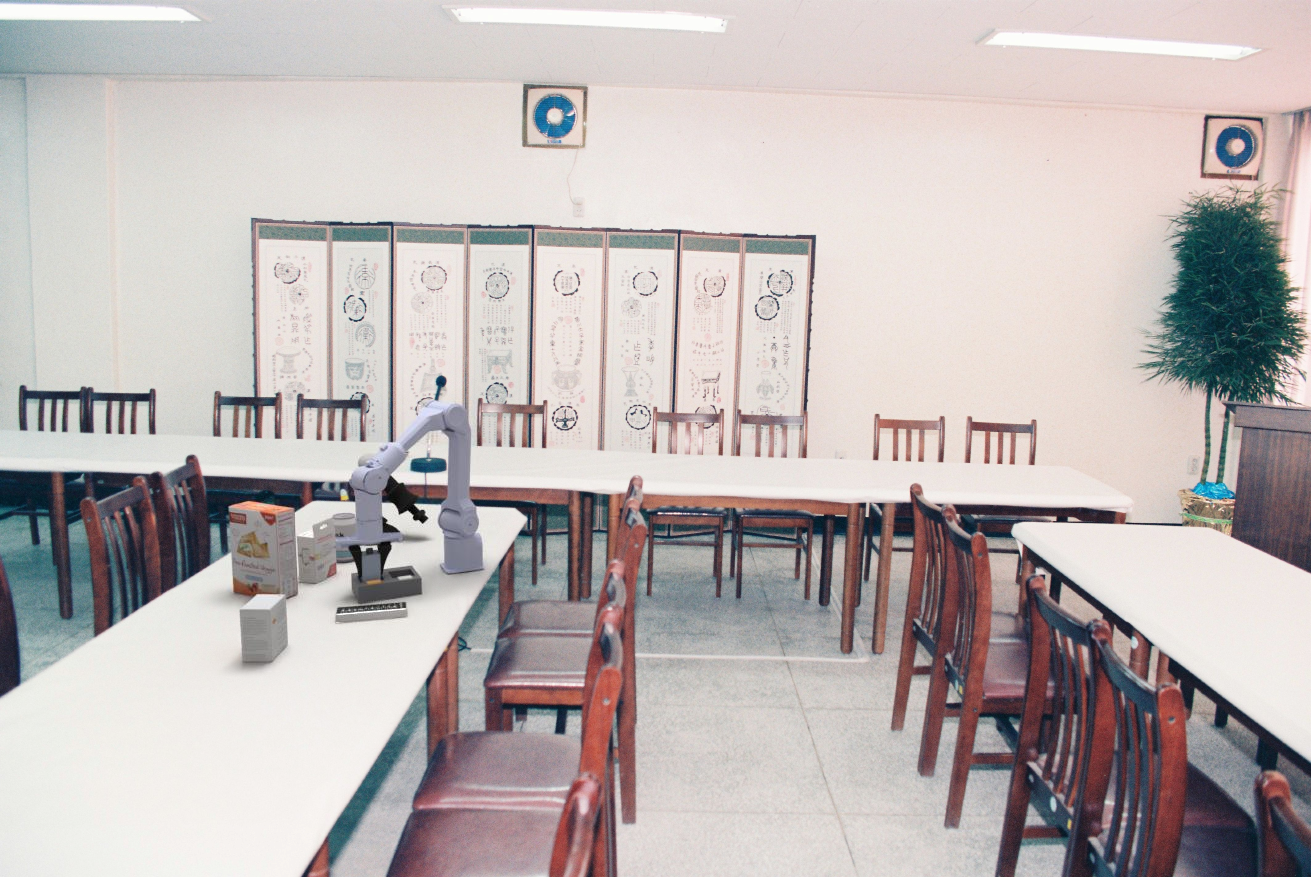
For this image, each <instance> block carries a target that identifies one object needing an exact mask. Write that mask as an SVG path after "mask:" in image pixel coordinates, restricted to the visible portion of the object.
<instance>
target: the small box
mask: <svg viewBox="0 0 1311 877" xmlns="http://www.w3.org/2000/svg"><path fill="white" fill-rule="evenodd" d="M287 610H288V608H287V599H286V595H281V594H257V595H256V596H253V597H252V598H250V600H249V601H248V602H246V603H245V604H244V605H243V606H242V607H241V608H239V622H240V624H239V625H240V639H241V641H240V643H241V655H242V656H241V658H242V663H256V662H258V663H259V662H260V663H262V662H263V663H266V662H267V663H270V662H271V663H272V662H273V661H274V660H275V659H276V658H277V656H279V654H280V653H281V652H282V651H283V650H284V649H285V648H286V647H287V646H288V645H289V640H288V639H289V637H288V635H289V634H288V614H287V613H288V612H287Z"/></svg>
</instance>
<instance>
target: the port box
mask: <svg viewBox="0 0 1311 877" xmlns="http://www.w3.org/2000/svg"><path fill="white" fill-rule="evenodd" d="M350 575H351V580H350V582H351V591H352V593H353V595H354V596H355V598H356V601H357V603H358V604H364V603H370V602H371V603H372V602H380V601H384V600H391V599H392V600H393V599H398V598H405V597H413V596H419V595H422V594H423V592H422V591H423V587H422V585H423V584H422V583H423V582H422V576H420V574H419V573H418V571H417V570H416V569H415V568H414V566H413V565H406V566H398V567H390V568H389V567H388V568H384V569H383V575H381V580H380V579H379V580H372V581H366V582H363V583H361V582H360V578H359V576H358V572H351V574H350Z"/></svg>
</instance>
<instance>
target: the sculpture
mask: <svg viewBox="0 0 1311 877" xmlns="http://www.w3.org/2000/svg"><path fill="white" fill-rule="evenodd" d="M375 454H376V453H372V452H371V453H369V452H368V453H364V454H363V455H361V456H360V457H359V458H358V460H357V461H358V462H357V466H358V467H362V466H365V464H366V462H367V461H368V460H370V459H371V458H372V457H373V456H374V455H375ZM383 491H384V492H385V494H386V496H385V499H386V500H387V501H389V502H390V503H392V504H393V505H394V506H395V507H396V509H397V511H398V512H397V513H398V516H400V515H402V514H404V513H406V512H408V513H410V514H411V515H412V520H413V521H414V522H417V521H419V522H420V524H421V525H423V524H425V523H426V522H427V521H428V520H429V517H428V516H427V515H426V510H425V509H419V508H418V506H416V505H415V504H416V501H417V500H418V499H419V495H418V494H415V493H412V492H411V491H409V490H408V489H407V486H406V485H405V482H400V483H399V482H398V481H397V480H396V478H394V477H393V476H392V474H391V475H390V476H389V478H388V480H387V485H386V487H385V489H384V490H383ZM388 521H389V520H388V519H387V518H386V517H384V516H383V515H382V528H383V533H398V532H401V530H399V529H398V528H397V527H395V526H394V525H391V524H390V523H388ZM365 546H366V547H367V546H370V545H365ZM373 546H377V544H374V545H373Z"/></svg>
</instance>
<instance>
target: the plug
mask: <svg viewBox="0 0 1311 877" xmlns="http://www.w3.org/2000/svg"><path fill="white" fill-rule="evenodd" d="M361 551H362V577H360V582H361V583H363V582H366V581H372V580H379V579H380V580H381V565H380V553H379V552H378V549H374V547H366V548H365V550H361Z"/></svg>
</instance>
